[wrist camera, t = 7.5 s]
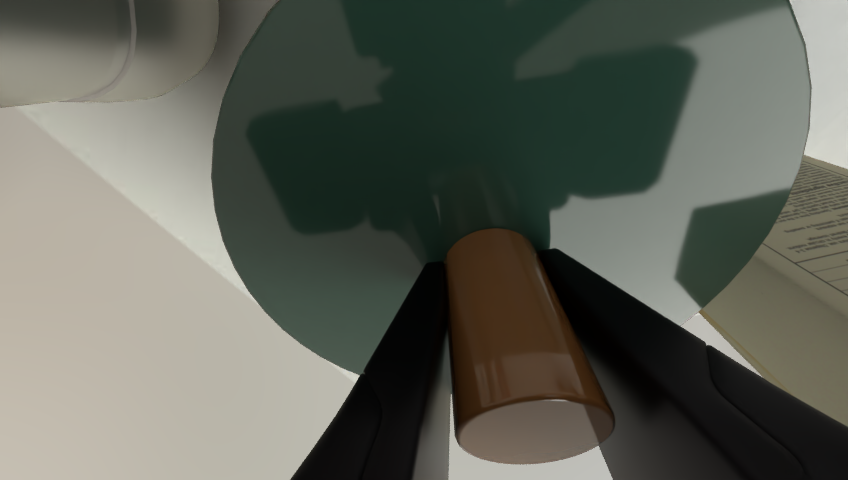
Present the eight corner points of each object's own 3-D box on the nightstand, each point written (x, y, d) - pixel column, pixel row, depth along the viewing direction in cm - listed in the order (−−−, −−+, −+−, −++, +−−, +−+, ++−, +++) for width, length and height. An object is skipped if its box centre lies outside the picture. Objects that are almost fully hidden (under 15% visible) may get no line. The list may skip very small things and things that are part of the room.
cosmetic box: (630, 248, 17) (924, 569, 7) (641, 179, 14) (1117, 523, 5) (761, 222, 16) (1323, 554, 6) (796, 142, 13) (1853, 484, 4)
